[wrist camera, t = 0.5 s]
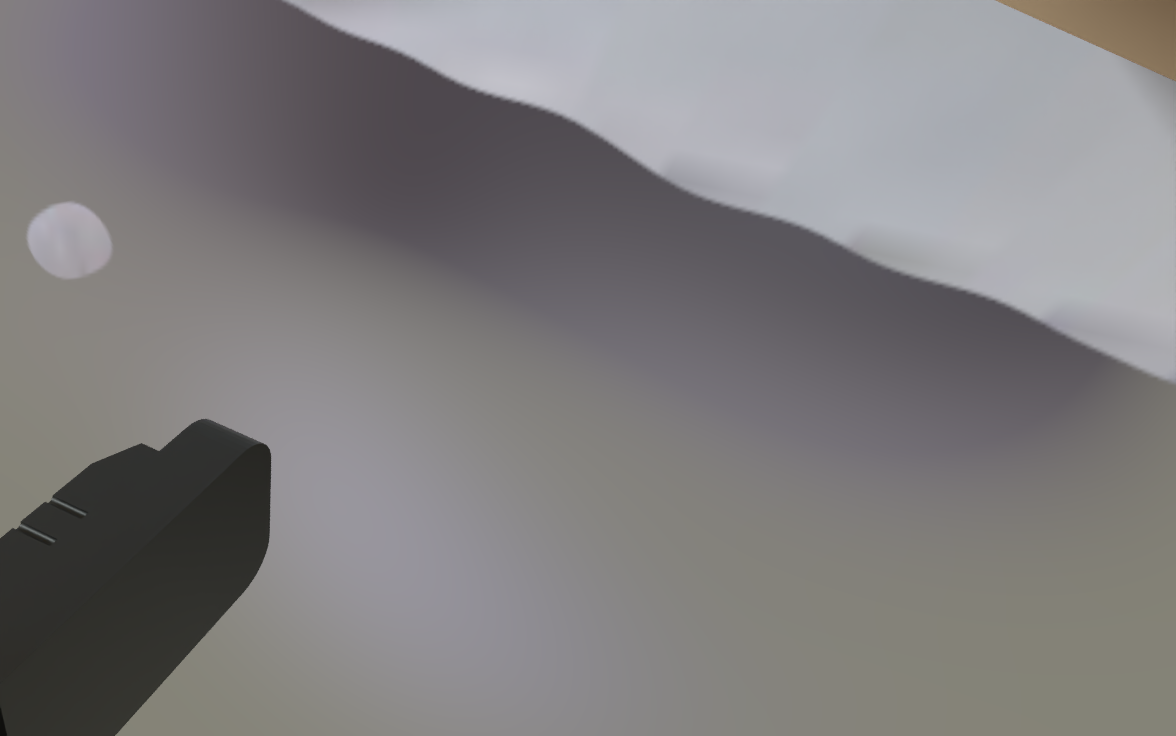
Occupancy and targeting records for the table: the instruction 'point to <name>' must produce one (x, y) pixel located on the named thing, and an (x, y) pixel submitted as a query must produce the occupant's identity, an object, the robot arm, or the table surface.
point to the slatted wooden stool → (1115, 27)
